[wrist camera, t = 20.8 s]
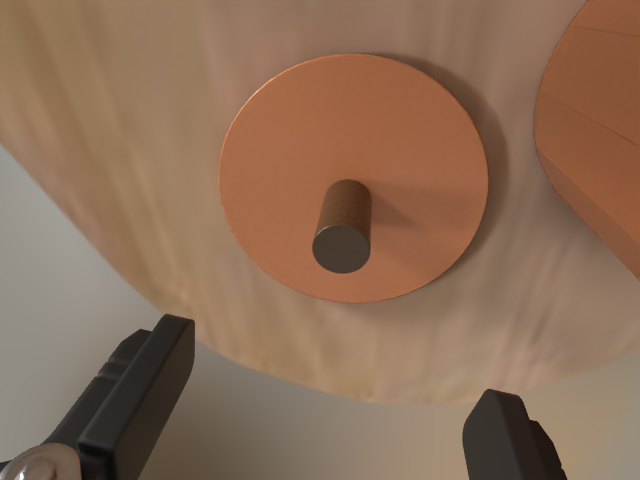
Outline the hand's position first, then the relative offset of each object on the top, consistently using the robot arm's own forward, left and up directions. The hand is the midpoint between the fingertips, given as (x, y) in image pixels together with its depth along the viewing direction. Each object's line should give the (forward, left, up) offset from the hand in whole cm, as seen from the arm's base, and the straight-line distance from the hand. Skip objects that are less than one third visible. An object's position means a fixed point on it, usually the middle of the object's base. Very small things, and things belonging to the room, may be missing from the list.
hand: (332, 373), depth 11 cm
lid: (0, 0, -11) cm, 11 cm away
